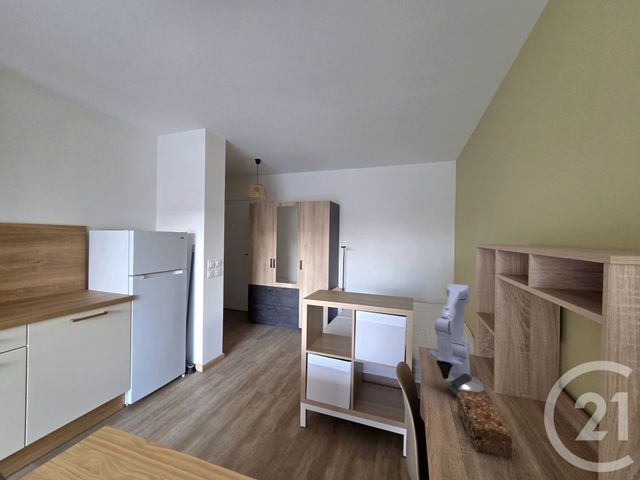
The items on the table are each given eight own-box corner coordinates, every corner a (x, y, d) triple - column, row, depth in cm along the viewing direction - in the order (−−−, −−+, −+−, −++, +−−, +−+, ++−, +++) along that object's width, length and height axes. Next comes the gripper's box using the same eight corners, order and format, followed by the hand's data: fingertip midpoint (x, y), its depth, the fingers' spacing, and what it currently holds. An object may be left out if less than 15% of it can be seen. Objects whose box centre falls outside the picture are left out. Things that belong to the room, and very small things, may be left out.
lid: (456, 371, 115) (456, 365, 115) (489, 385, 103) (489, 378, 103) (437, 382, 106) (437, 375, 106) (472, 398, 95) (471, 390, 95)
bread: (456, 413, 93) (455, 386, 93) (488, 417, 90) (487, 390, 91) (474, 453, 75) (473, 420, 75) (514, 460, 72) (513, 426, 73)
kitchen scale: (443, 382, 114) (443, 373, 114) (477, 386, 110) (477, 377, 110) (453, 407, 96) (452, 396, 96) (493, 413, 92) (492, 402, 92)
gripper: (424, 342, 111) (424, 373, 111) (455, 354, 98) (456, 389, 98) (434, 339, 115) (434, 368, 114) (465, 350, 102) (466, 383, 102)
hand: (445, 377), depth 106 cm, fingers closed
